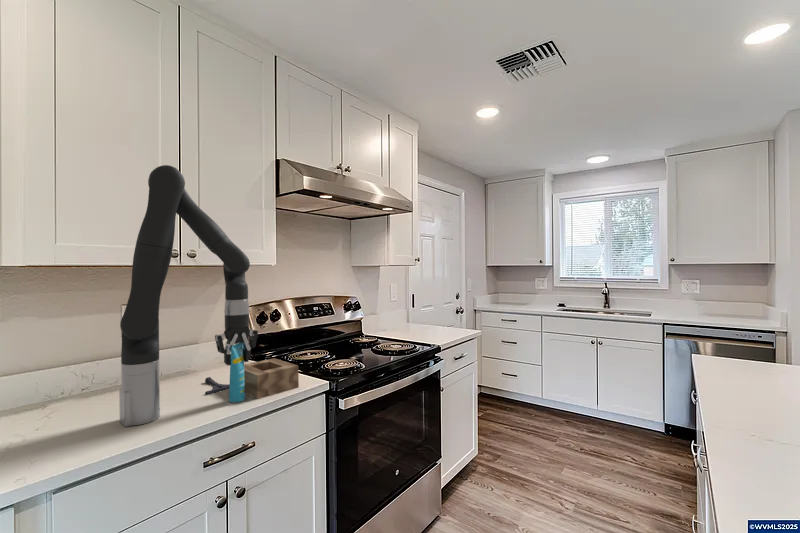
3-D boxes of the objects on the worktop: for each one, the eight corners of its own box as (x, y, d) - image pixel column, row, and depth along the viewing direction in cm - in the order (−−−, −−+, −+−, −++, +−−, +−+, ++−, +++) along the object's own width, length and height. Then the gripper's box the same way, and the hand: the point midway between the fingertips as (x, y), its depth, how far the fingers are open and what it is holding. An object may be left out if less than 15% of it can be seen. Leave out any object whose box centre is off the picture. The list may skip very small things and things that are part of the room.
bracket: (224, 379, 152) (224, 372, 152) (245, 386, 144) (245, 378, 144) (187, 389, 141) (187, 381, 141) (207, 397, 132) (207, 389, 132)
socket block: (257, 398, 128) (257, 375, 128) (234, 388, 139) (234, 366, 139) (298, 387, 140) (298, 365, 140) (274, 378, 151) (274, 358, 151)
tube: (240, 404, 123) (240, 345, 123) (225, 404, 123) (225, 345, 123) (248, 396, 131) (248, 340, 131) (234, 396, 130) (233, 340, 130)
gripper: (219, 316, 119) (220, 369, 119) (262, 311, 130) (263, 360, 130) (209, 314, 124) (210, 365, 124) (251, 309, 134) (252, 357, 135)
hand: (237, 363), depth 127 cm, fingers closed on tube, 5 cm apart
